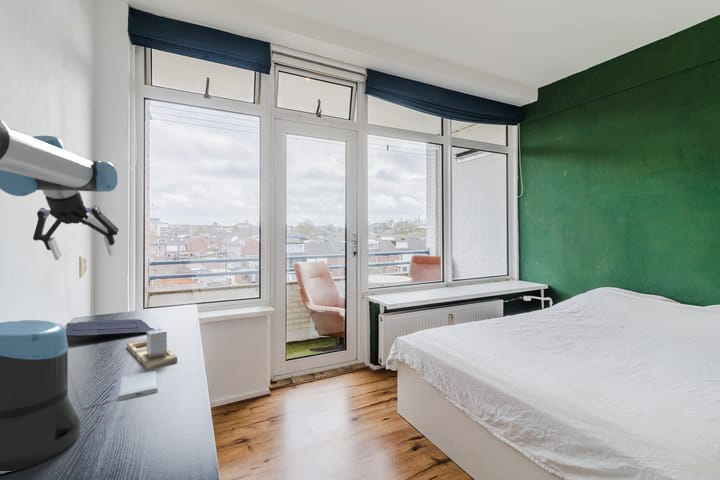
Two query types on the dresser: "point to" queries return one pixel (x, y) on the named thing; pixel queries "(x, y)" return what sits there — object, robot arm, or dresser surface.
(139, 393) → the hard drive
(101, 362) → the dresser surface
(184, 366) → the dresser surface
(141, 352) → the rail
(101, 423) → the dresser surface
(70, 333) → the dark grey flat slab
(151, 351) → the post
